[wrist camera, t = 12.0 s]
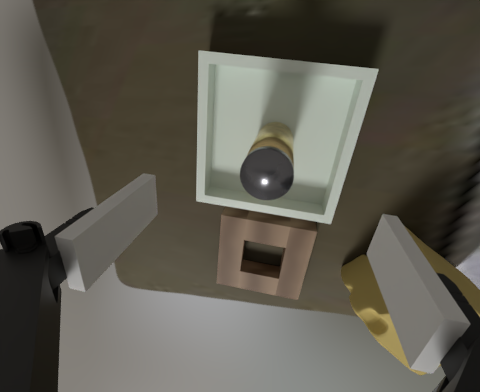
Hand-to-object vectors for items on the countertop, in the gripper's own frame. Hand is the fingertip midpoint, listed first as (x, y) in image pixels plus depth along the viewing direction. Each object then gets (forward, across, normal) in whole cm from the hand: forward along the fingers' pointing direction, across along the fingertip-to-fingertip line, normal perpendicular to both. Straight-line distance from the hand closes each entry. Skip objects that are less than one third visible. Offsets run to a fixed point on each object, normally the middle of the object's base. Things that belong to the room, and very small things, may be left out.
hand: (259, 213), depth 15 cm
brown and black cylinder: (+16, 0, 0) cm, 16 cm away
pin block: (+17, -1, +16) cm, 23 cm away
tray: (+17, 0, 0) cm, 17 cm away
